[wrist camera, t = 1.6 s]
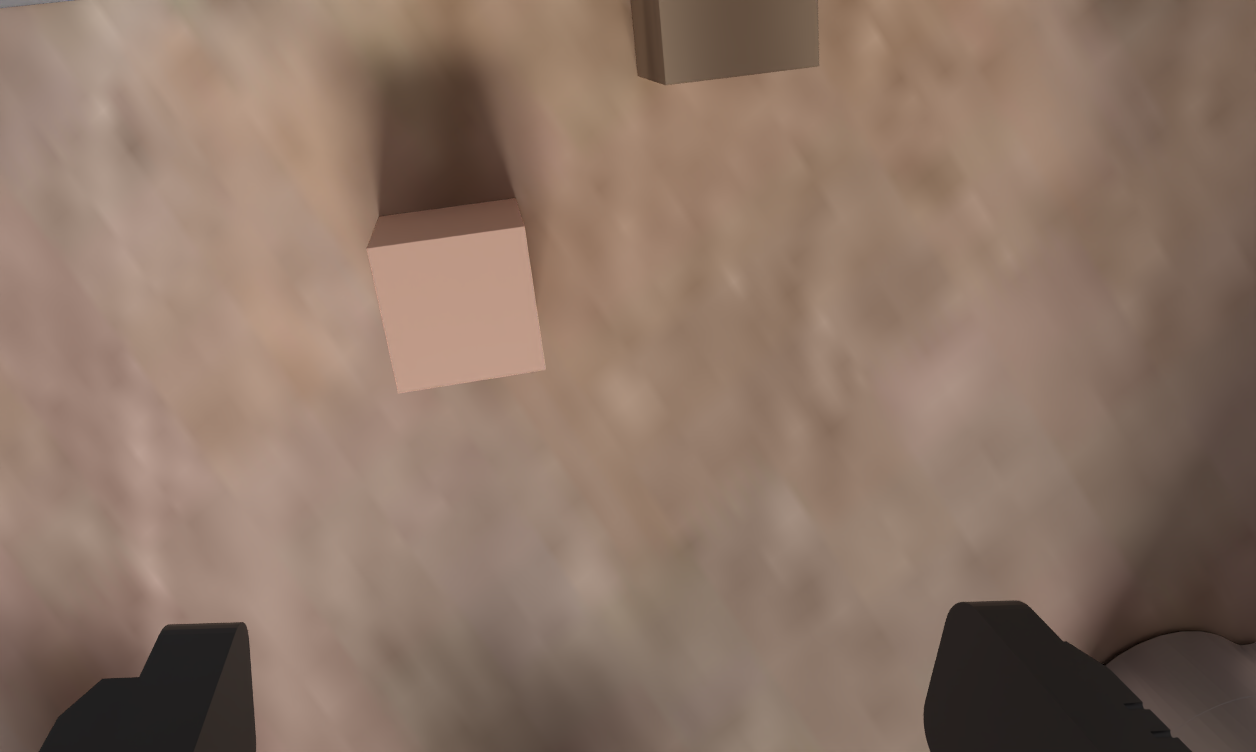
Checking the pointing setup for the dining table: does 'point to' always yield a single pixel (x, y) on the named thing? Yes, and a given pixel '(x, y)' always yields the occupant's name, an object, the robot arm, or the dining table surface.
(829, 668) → the dining table surface
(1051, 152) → the dining table surface
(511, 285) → the terracotta block
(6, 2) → the tray
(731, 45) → the walnut block
